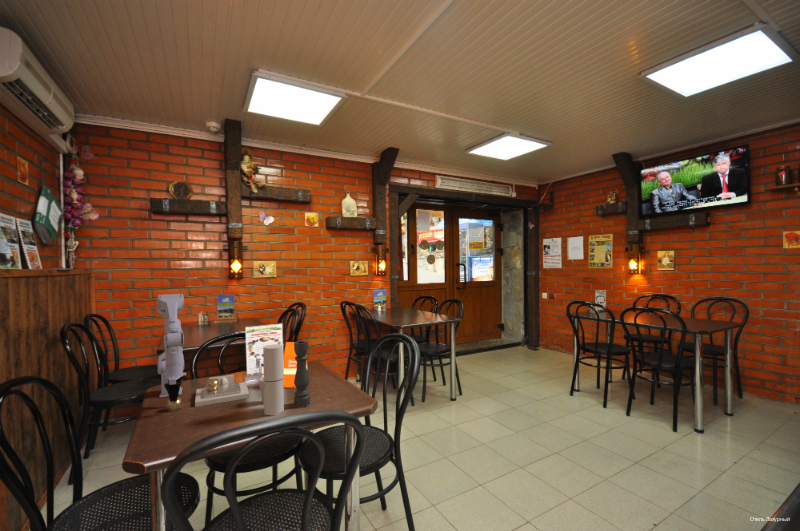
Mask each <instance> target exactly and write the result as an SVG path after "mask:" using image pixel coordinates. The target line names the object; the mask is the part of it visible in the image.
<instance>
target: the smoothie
mask: <svg viewBox="0 0 800 531" xmlns="http://www.w3.org/2000/svg"><path fill="white" fill-rule="evenodd" d="M258 383H259V384H258V385H259V389H260V396H261V403H262V404H263V405H264V376H262V377H260V378H259V379H258Z"/></svg>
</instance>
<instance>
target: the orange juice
mask: <svg viewBox="0 0 800 531" xmlns="http://www.w3.org/2000/svg"><path fill="white" fill-rule="evenodd" d="M294 342H295V341H292V342H291V341H286V342H285V348H284V351H283V381H284V388H296V387H295V385H294V378H295V374H296V369H297V361H296V360H295V357H296V354H295V351H294ZM306 356H308V355H306ZM306 368H307V369H308V359H307V360H306ZM293 386H294V387H293Z"/></svg>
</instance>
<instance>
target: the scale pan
mask: <svg viewBox="0 0 800 531" xmlns="http://www.w3.org/2000/svg"><path fill="white" fill-rule="evenodd" d="M239 383H240V382H239V381H237V382H234V383H229V384H222V385H218V390H216V391H212V392H208V391H207V386H204V387H203V388H204V398H207V397H213V396H219V395H226V394H232V393H238V392H241V388H240V384H239Z"/></svg>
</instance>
